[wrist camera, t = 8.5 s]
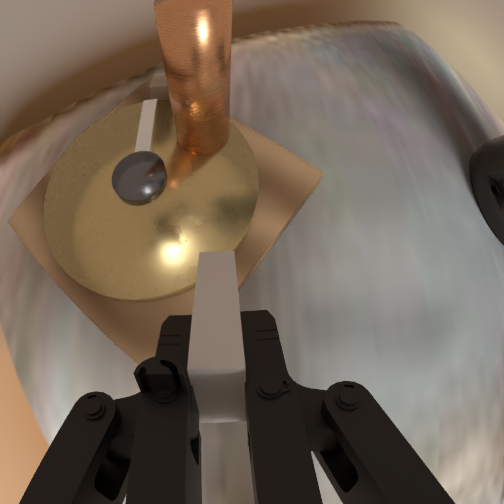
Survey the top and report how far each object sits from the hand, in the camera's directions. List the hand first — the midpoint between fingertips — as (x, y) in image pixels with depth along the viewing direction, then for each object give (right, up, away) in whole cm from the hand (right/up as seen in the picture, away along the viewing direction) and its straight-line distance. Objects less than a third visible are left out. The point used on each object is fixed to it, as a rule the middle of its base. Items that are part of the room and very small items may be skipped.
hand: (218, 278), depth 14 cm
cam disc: (-7, +6, +9) cm, 12 cm away
